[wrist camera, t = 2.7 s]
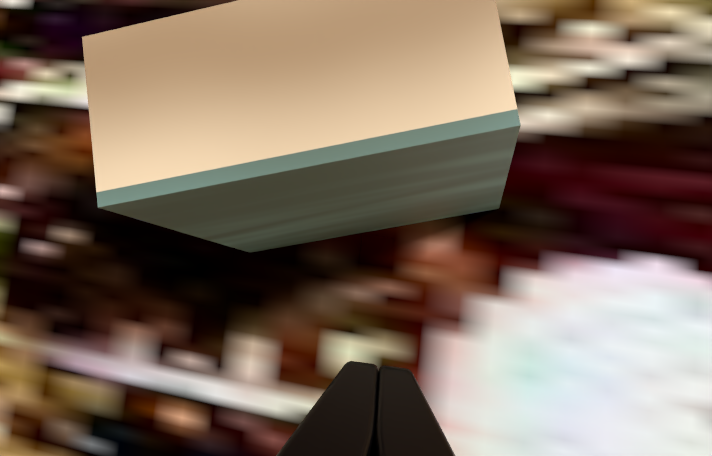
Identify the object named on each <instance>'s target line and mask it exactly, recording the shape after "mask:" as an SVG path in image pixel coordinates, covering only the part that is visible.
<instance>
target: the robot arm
mask: <svg viewBox="0 0 712 456" xmlns="http://www.w3.org/2000/svg"><path fill="white" fill-rule="evenodd" d="M276 456H455V454H454V452H453V450H452V449H451V447H450V445H449V443H448V441H447V439H446V437H445V435H444V433H443V431H442V429H441V427H440V425H439V423H438V421H437V420H436V418H435V416H434V414H433V412H432V410H431V408H430V406H429V404H428V402H427V400H426V398H425V396H424V394H423V393H422V391H421V389H420V387H419V385H418V383H417V381H416V379H415V377H414V375H413V374H412V372H411V371H410V370H409V369H406V368H399V367H391V366H382V367H380V368H379V371H378V368H377V366H376V365H374V364H369V363H361V362H354V361H350V362H347V363H346V364H345V365H344V366H343V368H342V369H341V370H340V372H339V373H338V374H337V376H336V377H335V378H334V380H333V381H332V382H331V384H330V385H329V386H328V388H327V389H326V390H325V392H324V393H323V394H322V396H321V397H320V398H319V400H318V401H317V402H316V404H315V405H314V406H313V408H312V409H311V410H310V412H309V413H308V414H307V416H306V417H305V418H304V420H303V421H302V422H301V424H300V425H299V426H298V428H297V429H296V430H295V432H294V433H293V434H292V436H291V437H290V438H289V440H288V441H287V442H286V444H285V445H284V446H283V447H282V449H281V450H280V451H279V453H278V454H277V455H276Z"/></svg>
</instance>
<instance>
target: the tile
mask: <svg viewBox="0 0 712 456" xmlns="http://www.w3.org/2000/svg"><path fill="white" fill-rule="evenodd" d="M82 40H83V51H84V62H85V73H86V83H87V94H88V105H89V116H90V127H91V137H92V148H93V159H94V170H95V181H96V192H97V202H98V208H101V209H105V210H108V211H111V212H115V213H118V214H122V215H125V216H128V217H132V218H135V219H138V220H142V221H145V222H148V223H152V224H155V225H159V226H162V227H165V228H169V229H172V230H175V231H179V232H182V233H185V234H189V235H192V236H196V237H199V238H202V239H206V240H209V241H212V242H216V243H219V244H222V245H226V246H229V247H232V248H236V249H239V250H243V251H246V252H249V253H251V252H257V251H262V250H268V249H274V248H279V247H285V246H291V245H296V244H302V243H308V242H313V241H319V240H324V239H330V238H336V237H341V236H347V235H353V234H358V233H364V232H370V231H375V230H381V229H386V228H392V227H398V226H403V225H409V224H415V223H420V222H426V221H432V220H437V219H443V218H448V217H454V216H460V215H465V214H471V213H477V212H482V211H488V210H494V209H499V206H500V202H501V198H502V194H503V190H504V187H505V183H506V179H507V175H508V171H509V167H510V164H511V160H512V156H513V152H514V148H515V144H516V140H517V137H518V133H519V129H520V121H519V116H518V111H517V106H516V101H515V96H514V91H513V86H512V81H511V76H510V71H509V66H508V61H507V56H506V51H505V46H504V41H503V36H502V31H501V26H500V21H499V16H498V11H497V6H496V1H495V0H238V1H234V2H230V3H225V4H221V5H217V6H213V7H208V8H204V9H200V10H196V11H191V12H187V13H183V14H179V15H174V16H170V17H166V18H162V19H157V20H153V21H149V22H145V23H140V24H136V25H132V26H128V27H123V28H119V29H115V30H111V31H106V32H102V33H98V34H94V35H89V36H85V37H82Z"/></svg>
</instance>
